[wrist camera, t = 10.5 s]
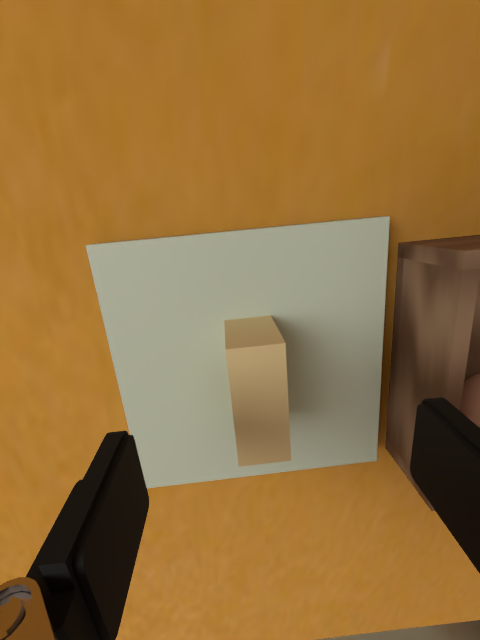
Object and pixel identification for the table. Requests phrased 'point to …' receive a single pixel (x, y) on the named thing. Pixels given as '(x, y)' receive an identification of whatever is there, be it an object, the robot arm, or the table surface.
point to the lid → (247, 346)
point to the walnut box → (432, 333)
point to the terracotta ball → (471, 399)
